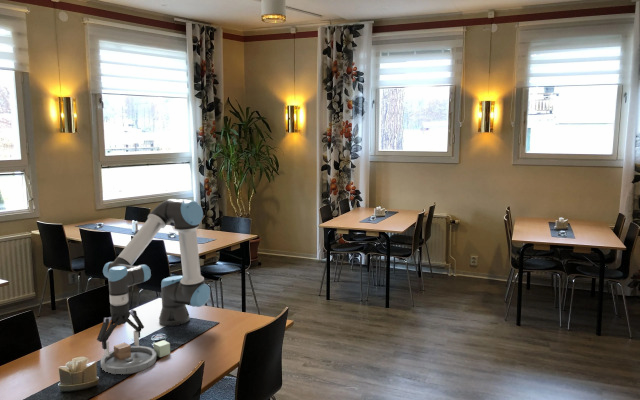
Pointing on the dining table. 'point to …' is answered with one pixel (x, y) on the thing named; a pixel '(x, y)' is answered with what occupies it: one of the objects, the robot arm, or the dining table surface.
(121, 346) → the brown wooden cube
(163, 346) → the pale green cube
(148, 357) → the tray
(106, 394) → the dining table surface
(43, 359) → the dining table surface
